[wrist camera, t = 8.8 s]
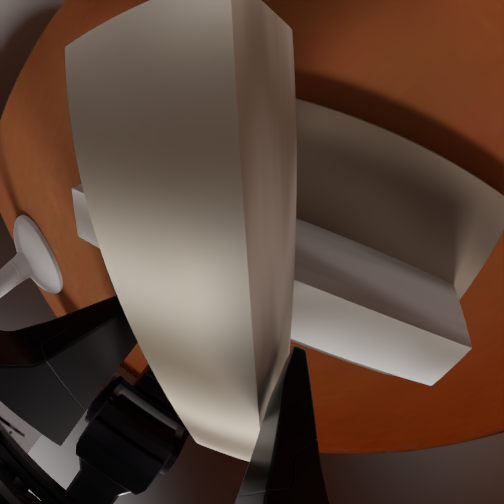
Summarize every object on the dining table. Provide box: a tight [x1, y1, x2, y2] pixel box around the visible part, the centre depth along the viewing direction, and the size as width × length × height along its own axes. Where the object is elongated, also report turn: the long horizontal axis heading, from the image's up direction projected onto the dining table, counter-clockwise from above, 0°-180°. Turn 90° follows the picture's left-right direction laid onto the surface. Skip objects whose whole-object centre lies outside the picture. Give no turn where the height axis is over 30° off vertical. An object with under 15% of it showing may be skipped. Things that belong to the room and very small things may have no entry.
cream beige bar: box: [65, 0, 297, 462], centre depth 9 cm, size 18×4×4 cm, turn 3°
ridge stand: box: [72, 98, 504, 386], centre depth 13 cm, size 14×22×6 cm, turn 78°
